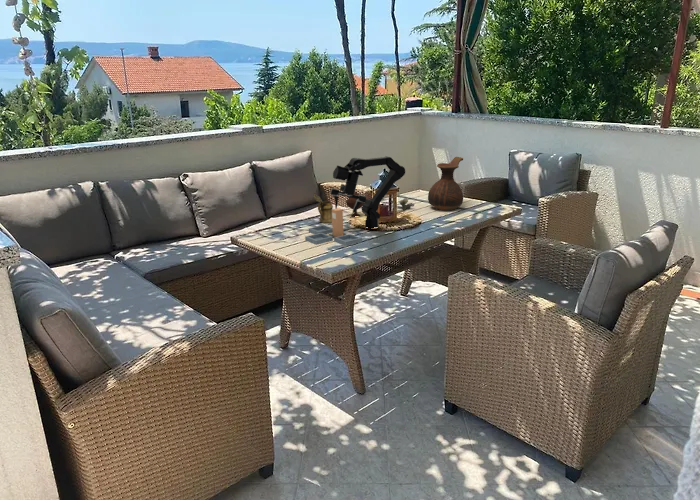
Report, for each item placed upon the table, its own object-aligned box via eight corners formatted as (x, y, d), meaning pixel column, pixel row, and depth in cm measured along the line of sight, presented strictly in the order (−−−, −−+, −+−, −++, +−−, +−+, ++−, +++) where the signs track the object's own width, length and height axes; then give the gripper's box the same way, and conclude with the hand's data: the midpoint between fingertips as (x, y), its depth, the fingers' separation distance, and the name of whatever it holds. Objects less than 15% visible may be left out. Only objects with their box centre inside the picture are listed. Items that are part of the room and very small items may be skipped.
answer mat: (340, 233, 295) (340, 232, 295) (350, 236, 288) (350, 235, 288) (326, 236, 290) (326, 235, 290) (336, 240, 283) (336, 239, 283)
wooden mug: (310, 223, 317) (308, 192, 311) (327, 218, 326) (326, 188, 320) (320, 225, 311) (319, 194, 305) (338, 221, 319) (337, 190, 314)
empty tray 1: (324, 229, 303) (323, 224, 303) (334, 233, 296) (334, 228, 295) (308, 232, 298) (308, 228, 297) (319, 236, 290) (318, 232, 289)
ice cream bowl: (352, 219, 321) (351, 194, 317) (343, 215, 331) (342, 190, 326) (368, 216, 326) (367, 191, 321) (359, 213, 336) (358, 188, 331)
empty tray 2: (350, 238, 285) (349, 233, 285) (362, 242, 278) (362, 237, 277) (334, 242, 280) (334, 237, 279) (346, 246, 272) (345, 242, 271)
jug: (466, 212, 330) (468, 161, 320) (430, 213, 330) (431, 162, 321) (460, 203, 350) (461, 155, 341) (426, 204, 351) (426, 156, 341)
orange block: (339, 234, 291) (338, 208, 287) (343, 235, 288) (342, 209, 284) (332, 235, 289) (331, 209, 285) (337, 237, 286) (336, 210, 282)
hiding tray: (321, 237, 289) (321, 232, 288) (332, 241, 281) (332, 236, 281) (305, 241, 283) (305, 236, 283) (316, 245, 276) (316, 240, 275)
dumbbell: (378, 215, 334) (377, 198, 334) (409, 214, 346) (407, 198, 346) (387, 214, 327) (386, 197, 326) (417, 212, 338) (416, 196, 338)
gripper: (366, 184, 299) (359, 213, 301) (333, 176, 296) (326, 205, 299) (369, 187, 288) (362, 216, 291) (334, 178, 285) (327, 207, 288)
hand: (344, 211), depth 292 cm, fingers open, 9 cm apart
